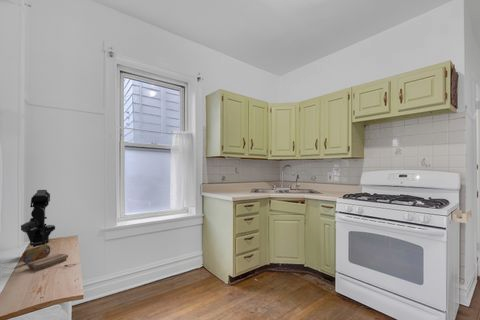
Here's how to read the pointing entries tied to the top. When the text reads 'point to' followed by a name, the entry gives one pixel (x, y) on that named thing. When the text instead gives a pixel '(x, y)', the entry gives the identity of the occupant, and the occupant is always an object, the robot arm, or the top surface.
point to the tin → (35, 253)
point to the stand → (47, 261)
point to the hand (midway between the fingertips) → (37, 242)
